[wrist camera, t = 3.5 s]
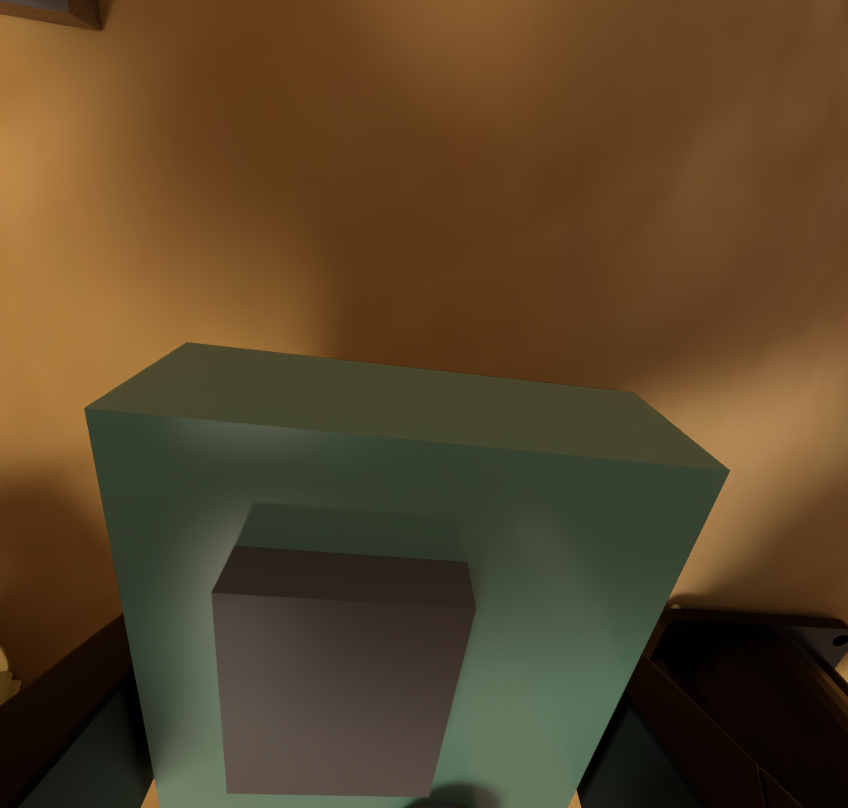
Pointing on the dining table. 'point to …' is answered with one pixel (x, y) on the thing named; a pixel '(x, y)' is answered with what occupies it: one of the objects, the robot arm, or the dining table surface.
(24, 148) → the dining table surface
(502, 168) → the dining table surface
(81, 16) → the chassis
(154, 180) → the dining table surface
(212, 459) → the board
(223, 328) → the dining table surface
